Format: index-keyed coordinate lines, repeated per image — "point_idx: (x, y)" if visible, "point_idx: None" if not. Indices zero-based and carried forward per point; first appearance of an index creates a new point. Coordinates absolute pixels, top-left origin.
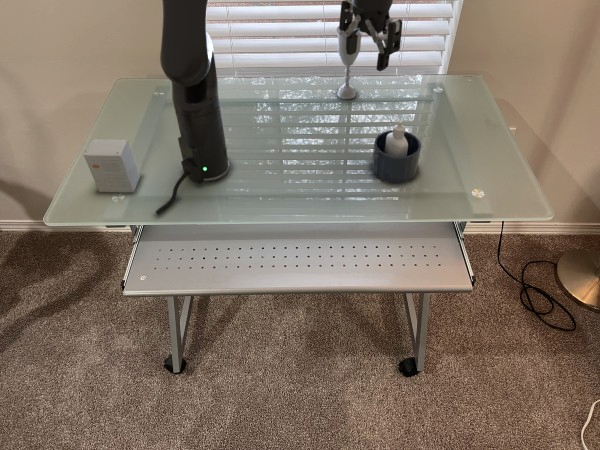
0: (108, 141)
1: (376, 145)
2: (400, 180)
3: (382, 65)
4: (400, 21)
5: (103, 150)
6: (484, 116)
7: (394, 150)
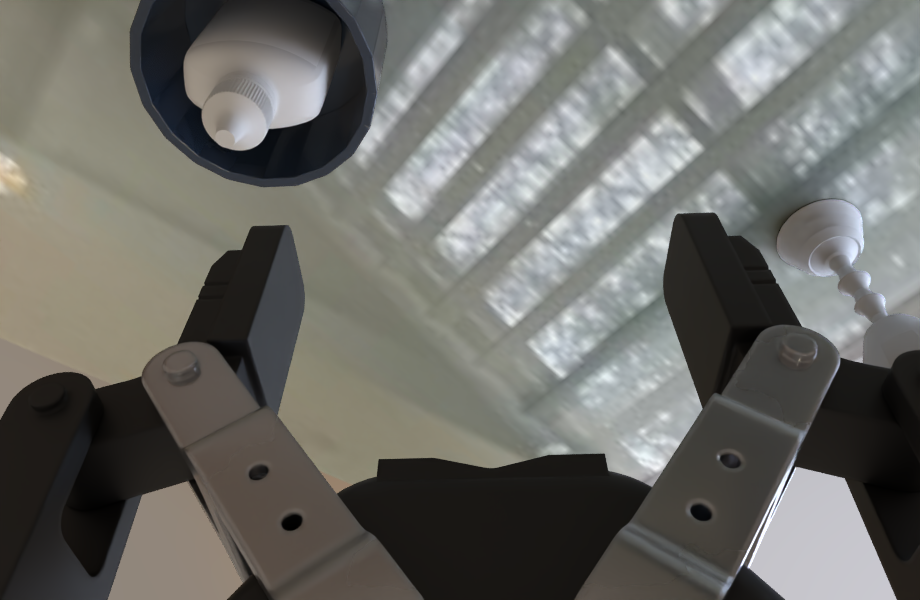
0: None
1: None
2: None
3: (220, 275)
4: None
5: None
6: (350, 453)
7: (224, 32)
